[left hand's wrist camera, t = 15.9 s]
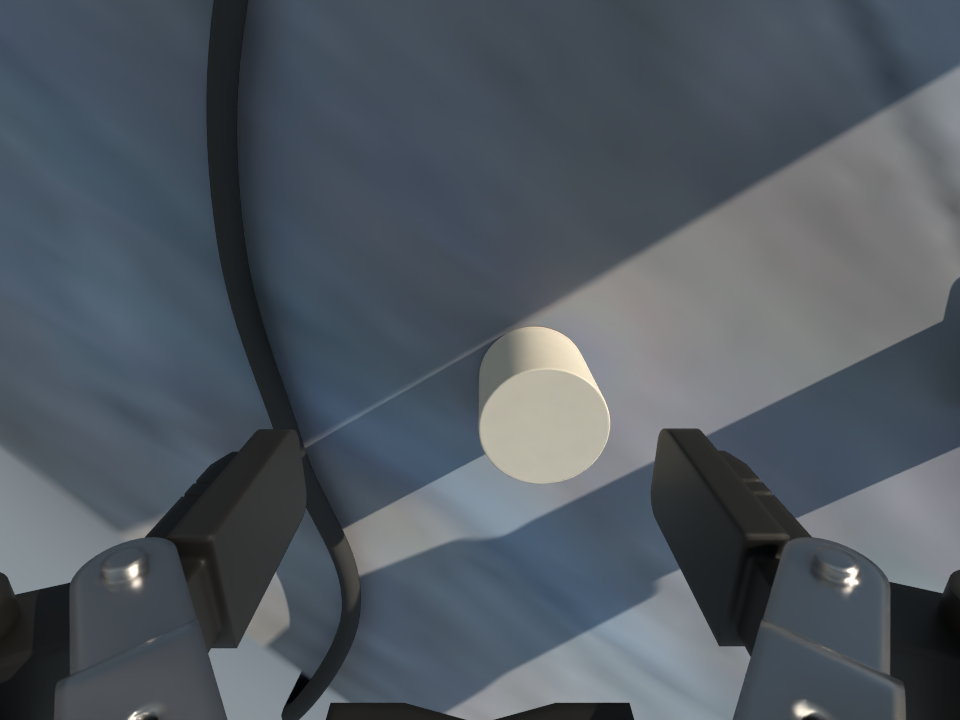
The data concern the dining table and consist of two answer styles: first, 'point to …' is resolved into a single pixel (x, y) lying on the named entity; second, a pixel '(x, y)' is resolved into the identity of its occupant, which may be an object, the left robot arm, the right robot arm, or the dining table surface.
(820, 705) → the left robot arm
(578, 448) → the cream short cylinder
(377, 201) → the dining table surface
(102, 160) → the dining table surface
